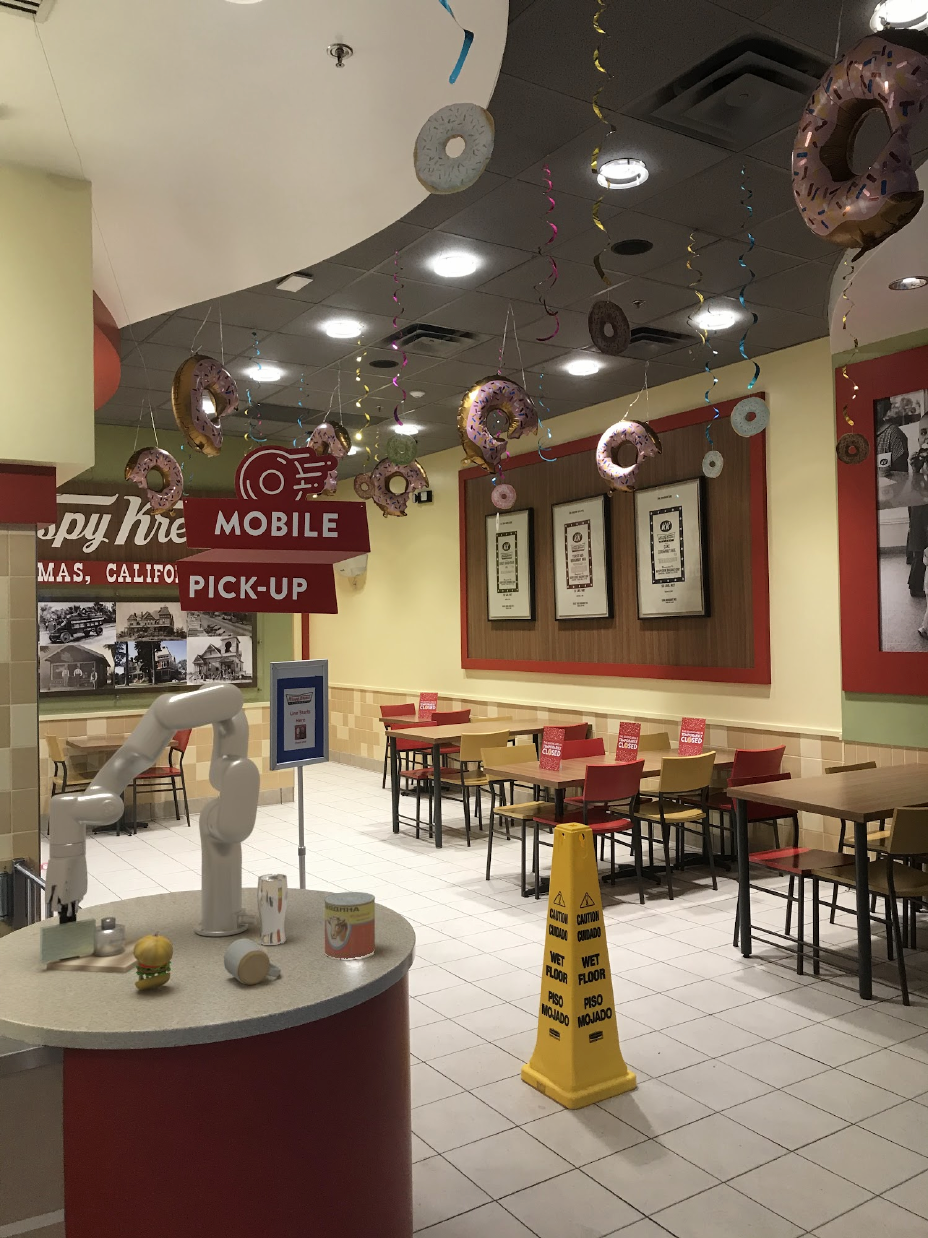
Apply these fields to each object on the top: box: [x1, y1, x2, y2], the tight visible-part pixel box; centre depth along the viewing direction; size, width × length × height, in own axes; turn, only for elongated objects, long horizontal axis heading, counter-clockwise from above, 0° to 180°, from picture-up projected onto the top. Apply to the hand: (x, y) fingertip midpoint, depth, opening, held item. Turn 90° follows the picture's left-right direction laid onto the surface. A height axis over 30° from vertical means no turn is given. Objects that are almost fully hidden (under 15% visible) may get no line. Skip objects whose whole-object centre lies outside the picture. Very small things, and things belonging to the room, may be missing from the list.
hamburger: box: [133, 931, 174, 991], centre depth 189 cm, size 8×7×12 cm
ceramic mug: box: [223, 938, 282, 986], centre depth 195 cm, size 11×8×8 cm
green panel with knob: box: [39, 916, 126, 963], centre depth 206 cm, size 18×7×8 cm, turn 128°
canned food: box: [323, 891, 376, 959], centre depth 212 cm, size 11×11×12 cm
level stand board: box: [46, 939, 139, 974], centre depth 209 cm, size 18×18×2 cm
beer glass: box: [256, 873, 289, 946], centre depth 220 cm, size 7×7×15 cm
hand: (67, 932), depth 211 cm, fingers closed
